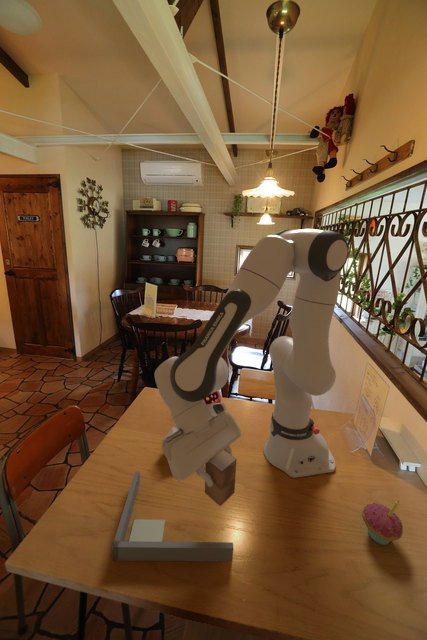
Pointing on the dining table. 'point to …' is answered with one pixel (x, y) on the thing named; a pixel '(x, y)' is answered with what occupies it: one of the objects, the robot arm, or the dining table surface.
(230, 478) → the walnut block
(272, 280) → the robot arm
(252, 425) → the dining table surface
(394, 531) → the cupcake
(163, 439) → the die
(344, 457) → the dining table surface
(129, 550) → the grey l-shaped bracket
